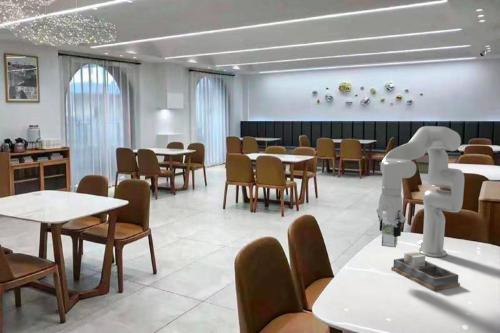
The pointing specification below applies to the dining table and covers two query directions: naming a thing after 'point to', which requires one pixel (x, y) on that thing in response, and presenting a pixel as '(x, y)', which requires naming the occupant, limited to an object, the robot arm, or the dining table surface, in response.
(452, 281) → the divided tray
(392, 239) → the syrup box
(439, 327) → the dining table surface
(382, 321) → the dining table surface
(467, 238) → the dining table surface
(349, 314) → the dining table surface
